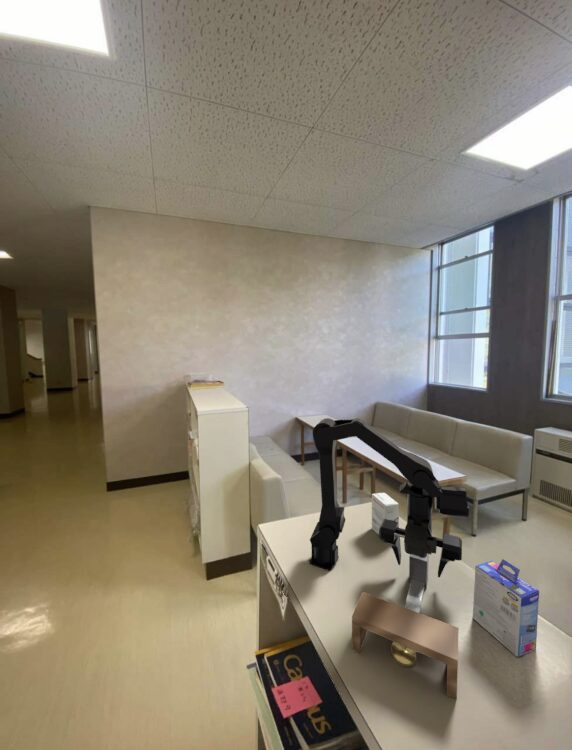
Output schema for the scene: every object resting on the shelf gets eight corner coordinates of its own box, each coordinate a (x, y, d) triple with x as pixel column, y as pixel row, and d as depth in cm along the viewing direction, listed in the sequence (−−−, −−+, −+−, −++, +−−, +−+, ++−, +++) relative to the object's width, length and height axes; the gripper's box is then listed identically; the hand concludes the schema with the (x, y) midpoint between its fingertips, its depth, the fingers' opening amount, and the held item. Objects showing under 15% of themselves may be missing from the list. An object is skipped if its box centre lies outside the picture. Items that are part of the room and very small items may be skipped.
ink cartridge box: (538, 650, 60) (542, 579, 59) (519, 660, 59) (522, 587, 57) (489, 610, 70) (491, 548, 69) (471, 618, 68) (473, 554, 67)
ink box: (399, 540, 96) (400, 503, 95) (385, 543, 94) (385, 505, 94) (384, 525, 104) (384, 491, 103) (370, 528, 103) (370, 493, 102)
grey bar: (398, 625, 66) (399, 594, 66) (411, 573, 82) (411, 547, 81) (419, 634, 64) (419, 601, 64) (428, 578, 80) (428, 552, 79)
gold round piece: (389, 662, 59) (389, 654, 59) (393, 642, 63) (393, 635, 62) (414, 673, 57) (414, 666, 56) (417, 653, 60) (417, 646, 60)
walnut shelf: (352, 649, 61) (352, 616, 61) (362, 622, 67) (362, 591, 67) (456, 699, 52) (457, 660, 52) (457, 662, 58) (458, 627, 58)
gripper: (373, 516, 75) (373, 577, 76) (462, 538, 66) (460, 607, 67) (384, 497, 85) (383, 552, 86) (462, 514, 76) (461, 575, 77)
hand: (418, 570), depth 79 cm, fingers open, 9 cm apart
